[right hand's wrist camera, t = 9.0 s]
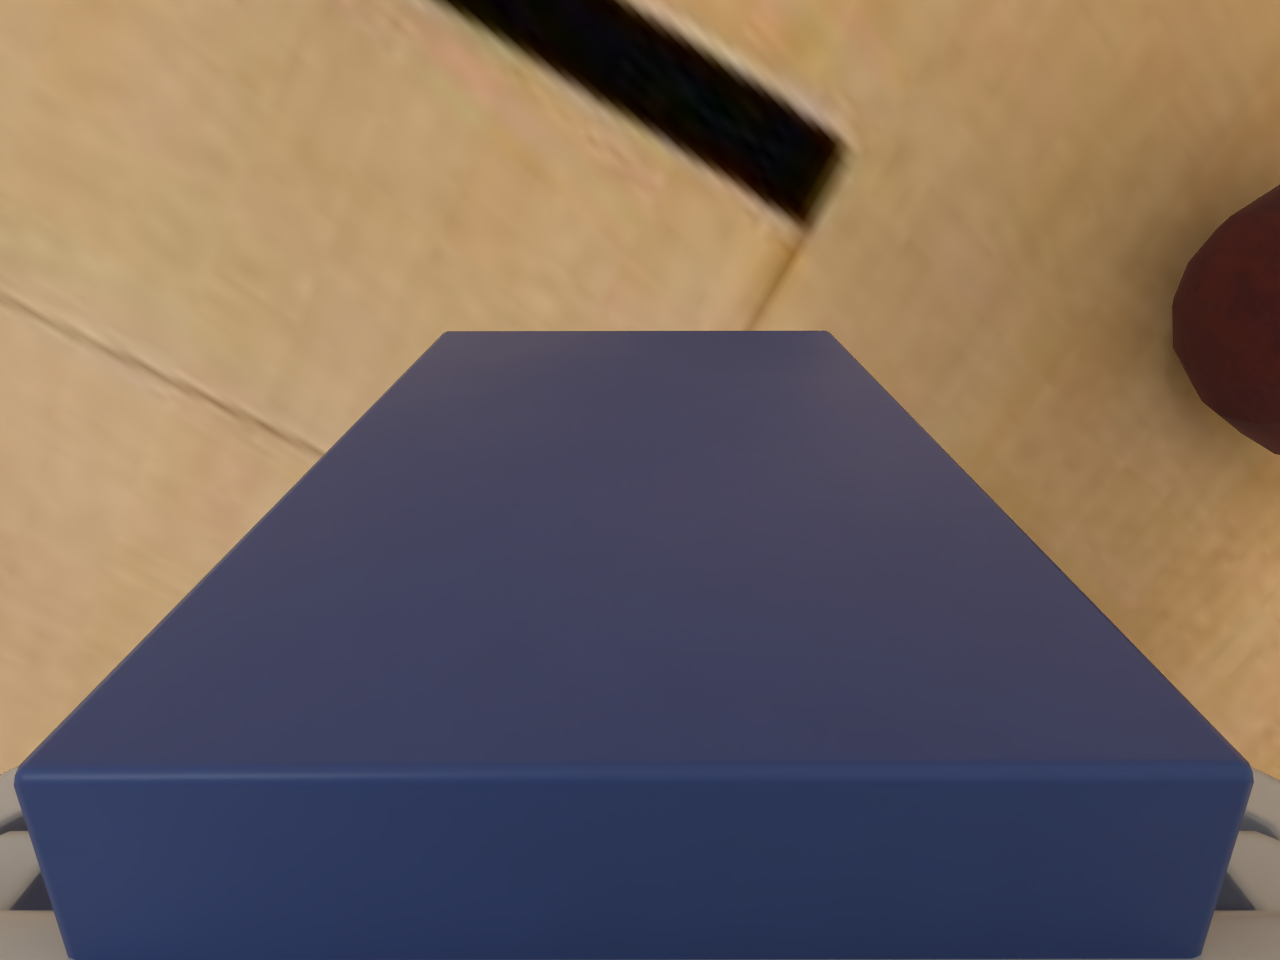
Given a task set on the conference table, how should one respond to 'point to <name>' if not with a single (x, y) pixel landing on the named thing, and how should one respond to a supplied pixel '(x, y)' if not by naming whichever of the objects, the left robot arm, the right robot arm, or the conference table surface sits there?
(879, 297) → the conference table surface
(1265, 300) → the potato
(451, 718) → the box
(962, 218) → the conference table surface
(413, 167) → the conference table surface
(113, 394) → the conference table surface
